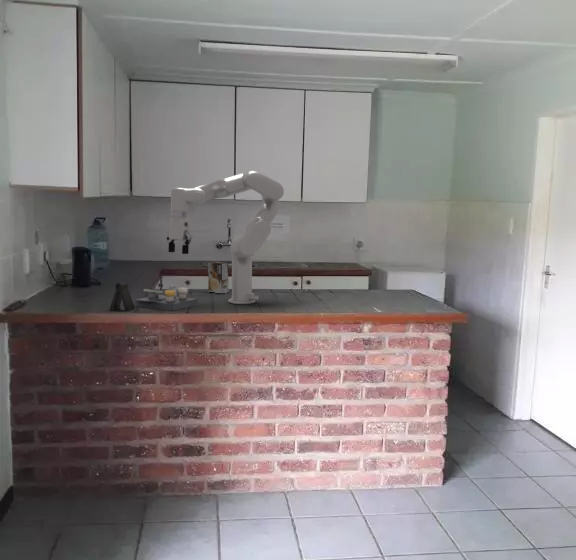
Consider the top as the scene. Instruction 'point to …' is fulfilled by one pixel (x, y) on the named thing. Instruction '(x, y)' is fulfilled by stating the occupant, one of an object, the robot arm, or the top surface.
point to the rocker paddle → (153, 291)
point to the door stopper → (122, 298)
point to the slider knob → (172, 287)
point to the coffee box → (218, 277)
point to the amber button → (169, 296)
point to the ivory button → (182, 293)
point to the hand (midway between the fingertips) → (178, 252)
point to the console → (164, 302)
